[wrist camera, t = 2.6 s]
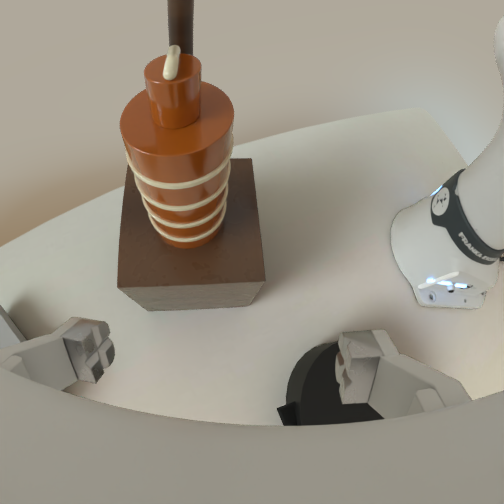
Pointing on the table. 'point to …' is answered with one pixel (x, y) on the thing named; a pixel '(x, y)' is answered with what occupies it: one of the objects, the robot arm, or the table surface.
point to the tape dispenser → (320, 393)
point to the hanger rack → (200, 258)
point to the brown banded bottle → (180, 149)
